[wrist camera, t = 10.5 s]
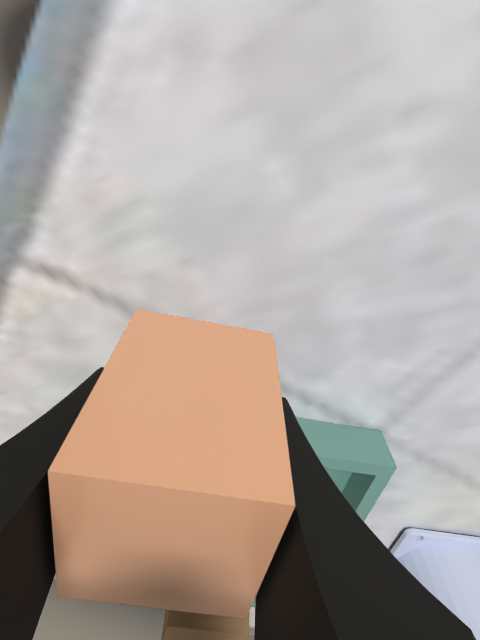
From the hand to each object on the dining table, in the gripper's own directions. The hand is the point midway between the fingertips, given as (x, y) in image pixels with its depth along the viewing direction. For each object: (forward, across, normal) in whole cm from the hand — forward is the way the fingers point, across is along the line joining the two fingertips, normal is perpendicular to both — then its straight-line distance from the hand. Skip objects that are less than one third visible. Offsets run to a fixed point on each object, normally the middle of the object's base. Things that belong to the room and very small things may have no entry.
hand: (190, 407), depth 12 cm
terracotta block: (+2, 0, 0) cm, 2 cm away
